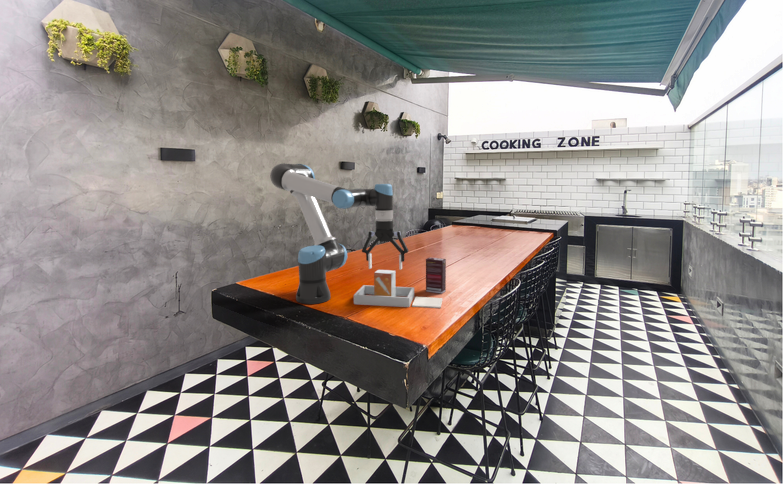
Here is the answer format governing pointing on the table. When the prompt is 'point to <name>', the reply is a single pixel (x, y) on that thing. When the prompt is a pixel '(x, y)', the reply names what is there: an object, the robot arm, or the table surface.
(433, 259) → the supplement box
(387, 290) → the small box
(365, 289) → the bin
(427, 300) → the tile
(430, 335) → the table surface
